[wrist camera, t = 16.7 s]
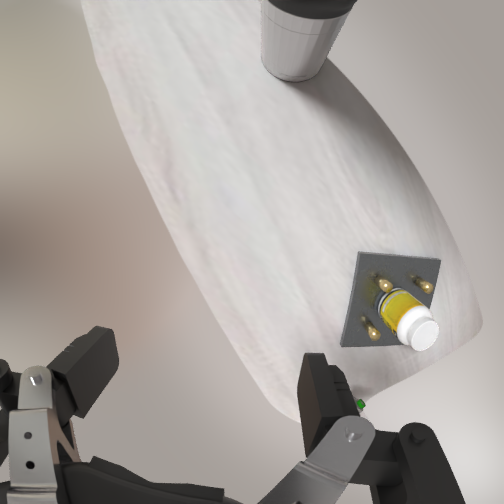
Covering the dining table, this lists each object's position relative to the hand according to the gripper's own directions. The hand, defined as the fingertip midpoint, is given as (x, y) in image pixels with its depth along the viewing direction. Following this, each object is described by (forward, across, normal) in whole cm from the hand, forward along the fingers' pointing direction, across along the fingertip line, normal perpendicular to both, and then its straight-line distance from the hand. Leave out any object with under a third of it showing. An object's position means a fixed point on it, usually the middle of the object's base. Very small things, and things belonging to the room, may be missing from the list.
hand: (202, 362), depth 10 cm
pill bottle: (+29, -25, +9) cm, 39 cm away
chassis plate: (+30, -25, +9) cm, 40 cm away
